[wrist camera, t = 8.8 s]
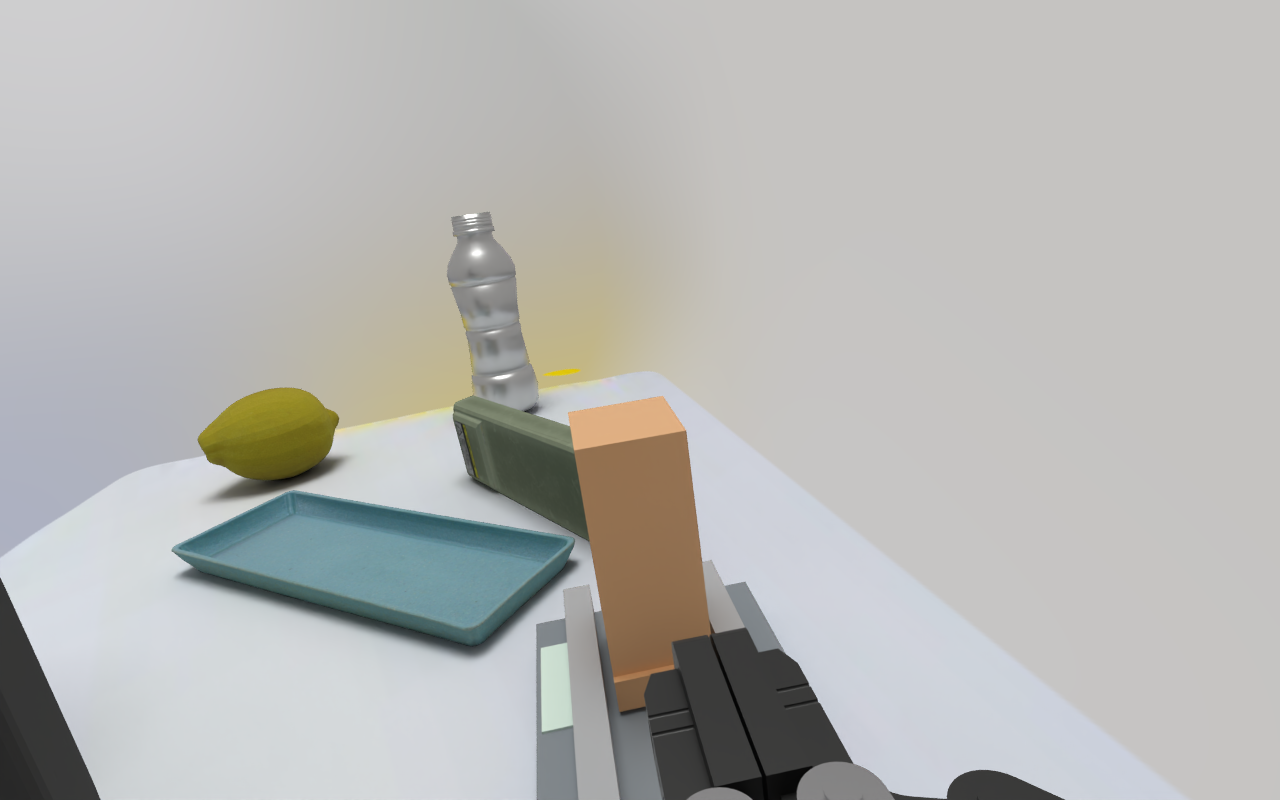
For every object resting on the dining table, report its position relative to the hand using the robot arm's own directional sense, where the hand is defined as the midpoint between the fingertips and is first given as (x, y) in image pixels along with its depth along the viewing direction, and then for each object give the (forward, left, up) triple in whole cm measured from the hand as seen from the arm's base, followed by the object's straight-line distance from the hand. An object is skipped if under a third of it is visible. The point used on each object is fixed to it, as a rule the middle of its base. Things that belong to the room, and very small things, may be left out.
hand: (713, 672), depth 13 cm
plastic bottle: (+22, +54, -11) cm, 59 cm away
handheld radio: (+13, +29, -11) cm, 33 cm away
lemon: (+1, +57, -11) cm, 58 cm away
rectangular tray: (+1, +33, -11) cm, 35 cm away
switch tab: (+6, +11, -9) cm, 15 cm away
